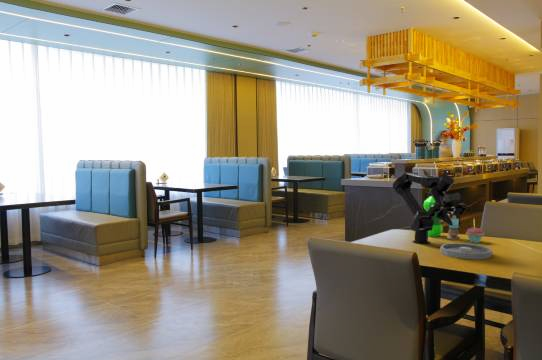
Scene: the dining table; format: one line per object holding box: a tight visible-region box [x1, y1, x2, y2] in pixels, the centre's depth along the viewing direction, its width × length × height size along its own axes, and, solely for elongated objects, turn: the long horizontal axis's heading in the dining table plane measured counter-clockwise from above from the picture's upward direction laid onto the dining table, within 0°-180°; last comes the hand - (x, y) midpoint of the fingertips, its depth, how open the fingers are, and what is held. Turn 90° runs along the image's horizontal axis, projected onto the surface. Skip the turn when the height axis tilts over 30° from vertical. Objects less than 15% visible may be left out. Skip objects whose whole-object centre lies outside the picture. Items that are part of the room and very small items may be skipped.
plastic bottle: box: [423, 189, 444, 238], centre depth 245 cm, size 10×10×25 cm
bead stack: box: [446, 215, 461, 241], centre depth 206 cm, size 5×5×11 cm
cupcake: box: [465, 218, 485, 244], centre depth 230 cm, size 9×8×12 cm
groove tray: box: [439, 242, 493, 260], centre depth 204 cm, size 21×21×2 cm
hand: (455, 224), depth 204 cm, fingers closed on bead stack, 4 cm apart
